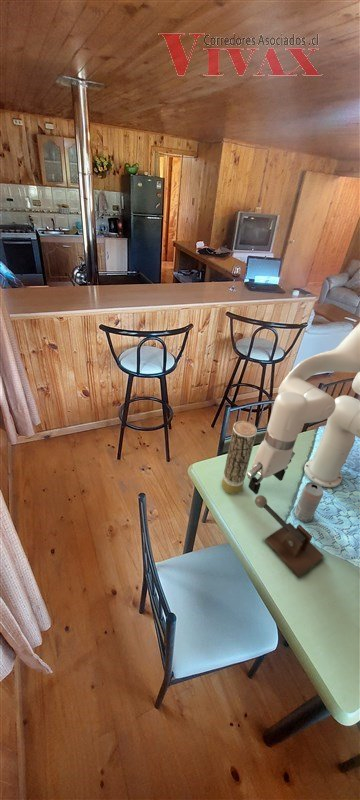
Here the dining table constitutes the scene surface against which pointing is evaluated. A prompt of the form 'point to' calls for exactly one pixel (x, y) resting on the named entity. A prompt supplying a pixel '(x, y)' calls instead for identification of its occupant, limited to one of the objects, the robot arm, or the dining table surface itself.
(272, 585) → the dining table surface
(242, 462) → the wooden log
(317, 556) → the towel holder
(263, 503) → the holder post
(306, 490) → the energy drink
